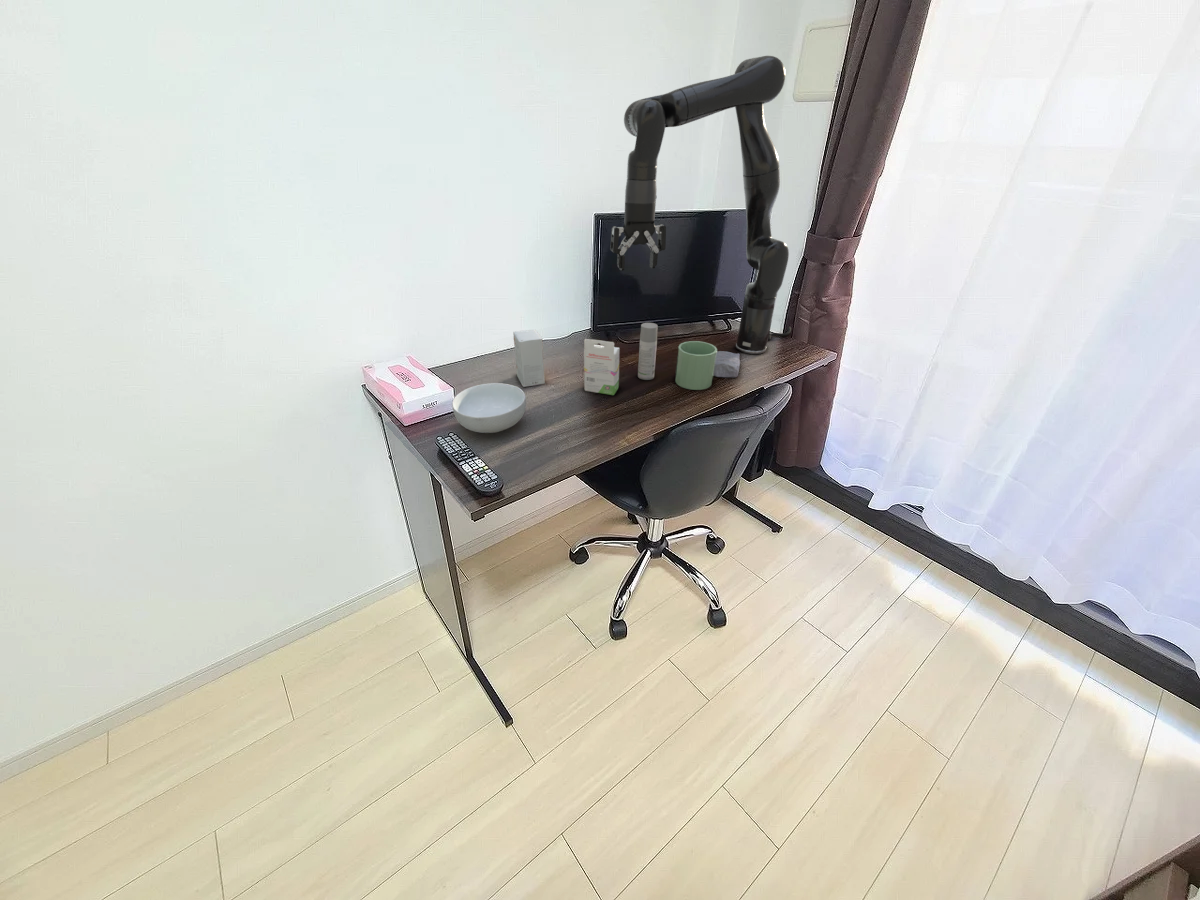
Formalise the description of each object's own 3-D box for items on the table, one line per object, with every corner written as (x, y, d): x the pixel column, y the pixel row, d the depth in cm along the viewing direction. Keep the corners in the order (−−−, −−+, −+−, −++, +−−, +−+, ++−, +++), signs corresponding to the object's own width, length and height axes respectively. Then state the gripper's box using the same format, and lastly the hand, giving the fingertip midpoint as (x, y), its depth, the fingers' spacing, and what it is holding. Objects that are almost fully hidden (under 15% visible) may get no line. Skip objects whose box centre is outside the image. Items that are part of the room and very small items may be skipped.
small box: (545, 384, 137) (542, 339, 130) (522, 387, 135) (518, 341, 128) (538, 372, 143) (535, 328, 136) (516, 375, 142) (512, 331, 134)
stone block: (705, 381, 144) (741, 378, 141) (703, 365, 141) (740, 362, 139) (706, 366, 153) (739, 363, 151) (705, 351, 151) (739, 347, 148)
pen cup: (689, 371, 145) (693, 338, 140) (719, 382, 139) (724, 348, 134) (667, 381, 139) (670, 347, 134) (697, 393, 133) (702, 358, 128)
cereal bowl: (482, 402, 128) (479, 377, 124) (540, 415, 123) (538, 389, 119) (441, 434, 115) (436, 407, 111) (503, 450, 109) (500, 422, 106)
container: (647, 371, 145) (650, 321, 136) (657, 377, 141) (661, 326, 133) (634, 375, 142) (637, 324, 134) (644, 381, 139) (647, 329, 131)
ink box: (619, 388, 136) (621, 336, 127) (613, 396, 132) (615, 342, 123) (589, 383, 138) (589, 331, 130) (583, 390, 134) (582, 338, 126)
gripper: (661, 197, 126) (656, 263, 135) (607, 198, 122) (606, 267, 131) (673, 201, 120) (667, 270, 129) (617, 203, 116) (615, 274, 125)
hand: (636, 268), depth 130 cm, fingers open, 8 cm apart
